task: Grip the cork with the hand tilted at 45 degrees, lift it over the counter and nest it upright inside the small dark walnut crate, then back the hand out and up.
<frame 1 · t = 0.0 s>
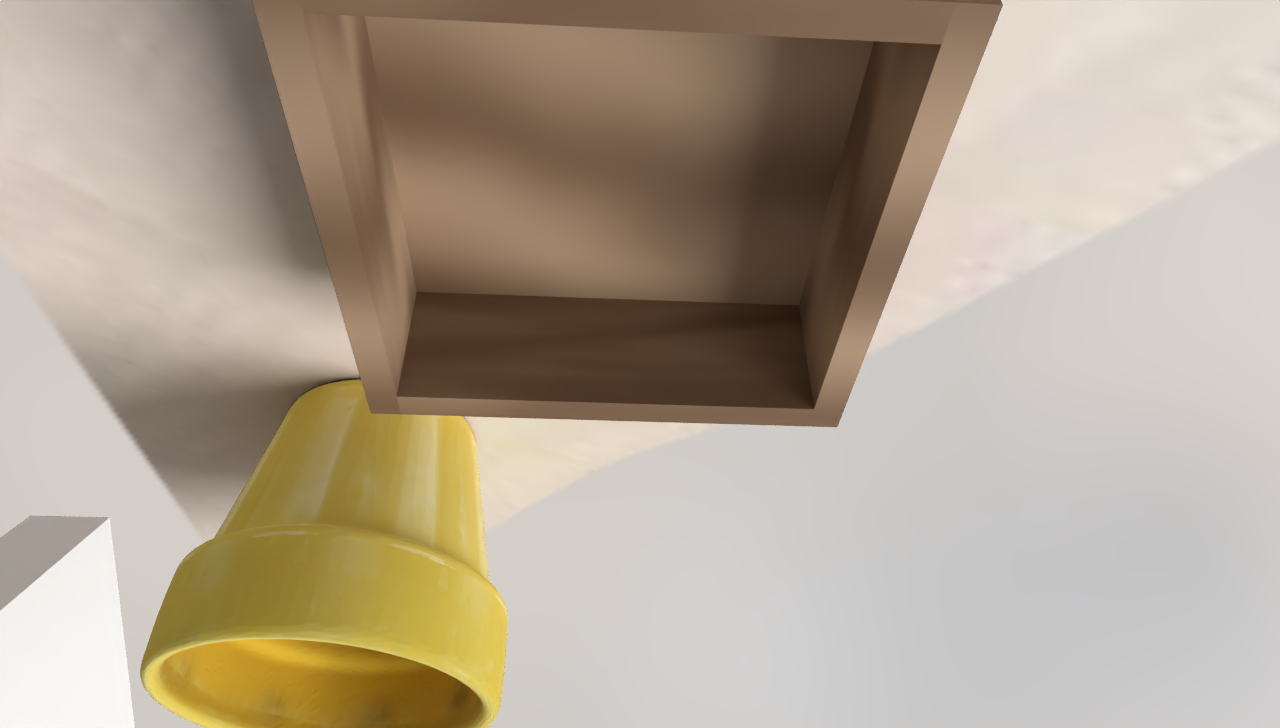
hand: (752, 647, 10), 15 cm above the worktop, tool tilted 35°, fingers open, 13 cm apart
plant pot: (380, 427, 34), on the worktop
walnut crate: (617, 125, 23), on the worktop
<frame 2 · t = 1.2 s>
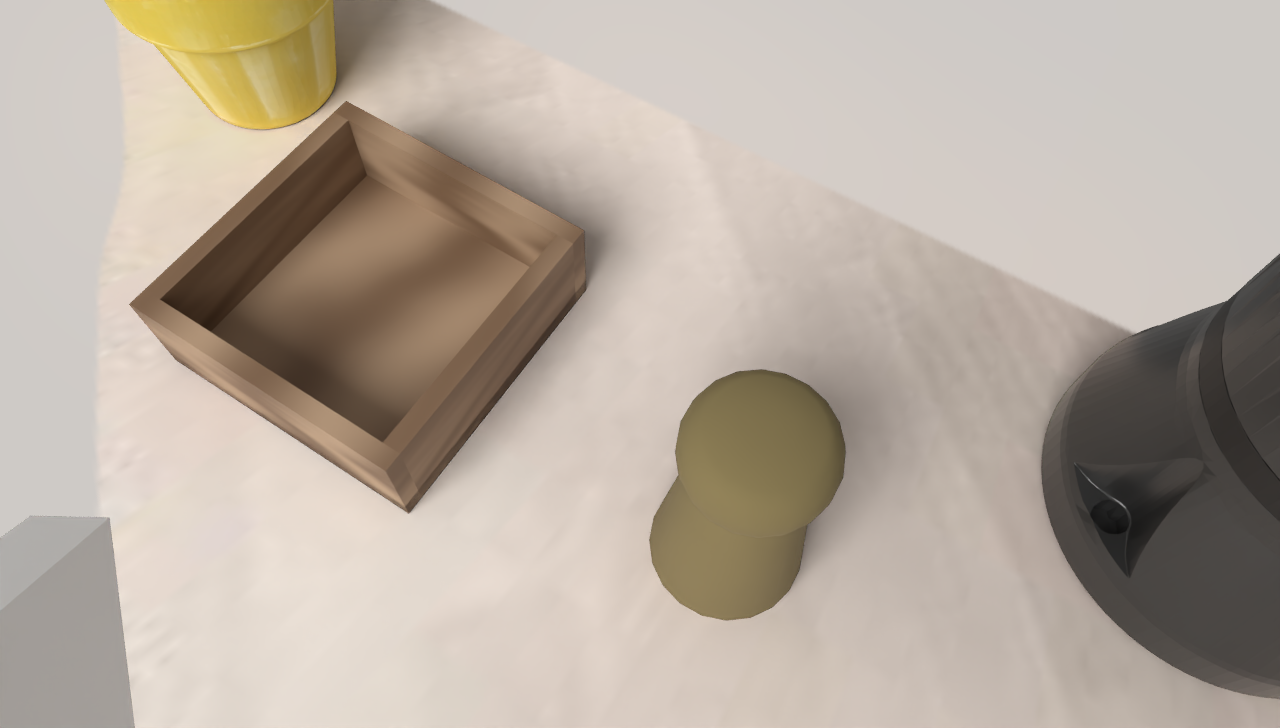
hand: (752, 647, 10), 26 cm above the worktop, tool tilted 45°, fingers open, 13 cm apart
plant pot: (273, 83, 48), on the worktop
cork: (725, 544, 37), on the worktop
walnut crate: (386, 323, 41), on the worktop
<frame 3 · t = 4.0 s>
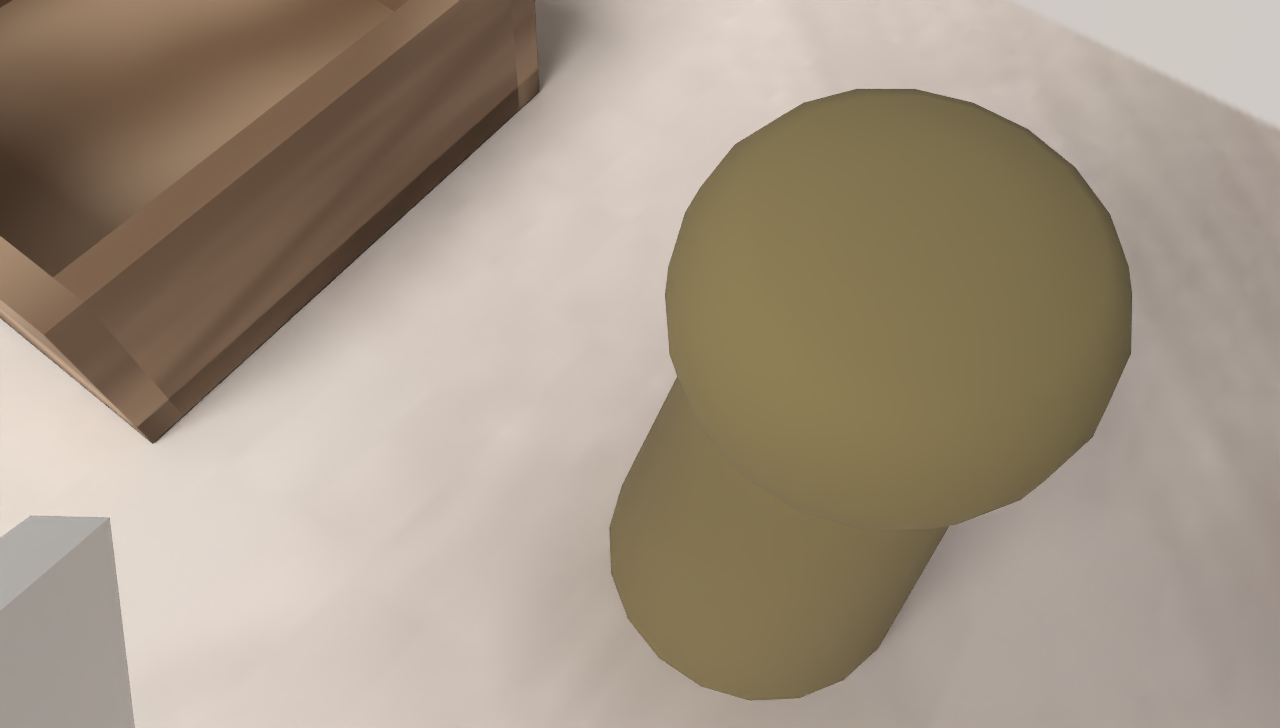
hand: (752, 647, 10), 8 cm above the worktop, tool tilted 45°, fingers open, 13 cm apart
cork: (755, 548, 19), on the worktop
walnut crate: (182, 117, 24), on the worktop
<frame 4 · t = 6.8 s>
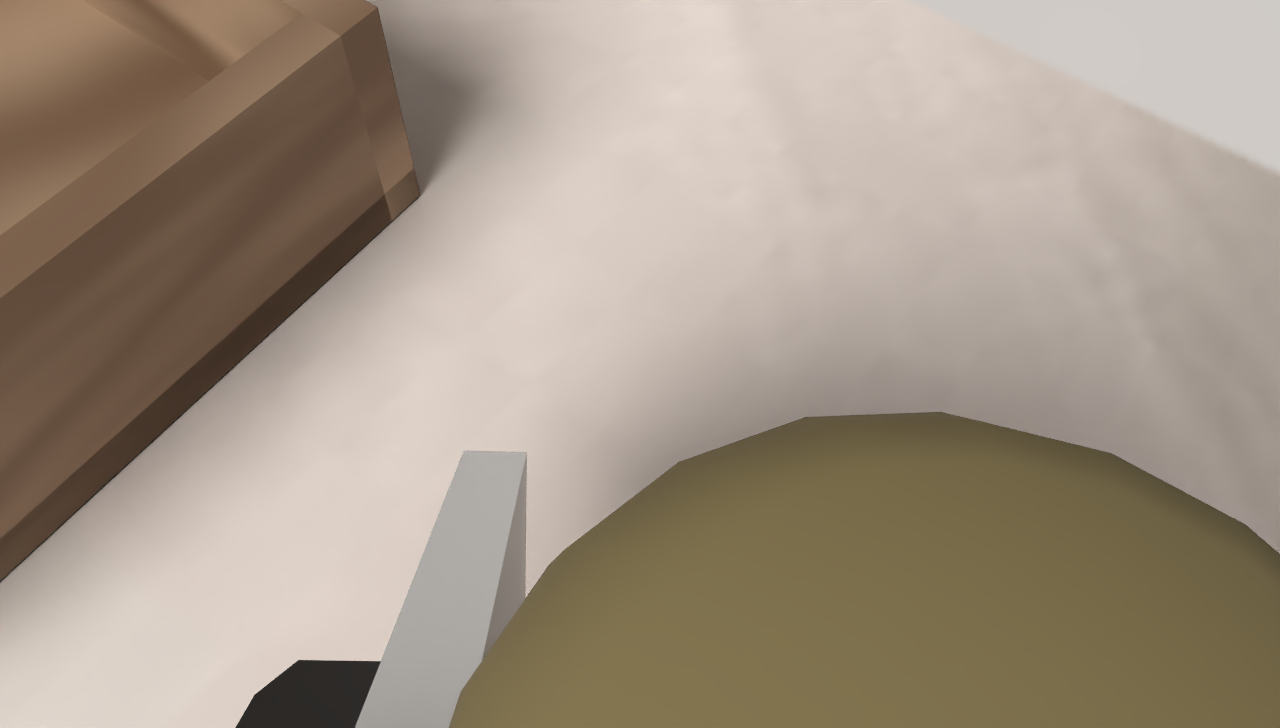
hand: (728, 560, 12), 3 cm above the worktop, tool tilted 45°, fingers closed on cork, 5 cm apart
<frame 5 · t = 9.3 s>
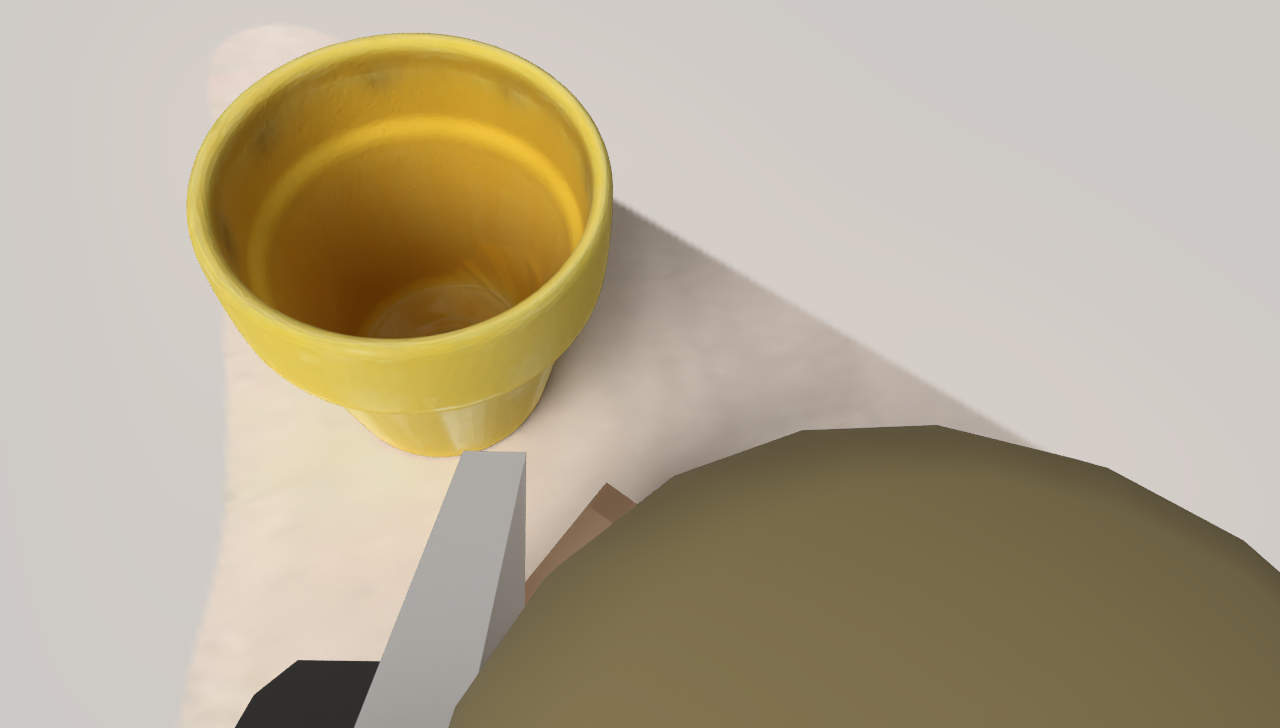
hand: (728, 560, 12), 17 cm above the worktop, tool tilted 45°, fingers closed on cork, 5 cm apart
plant pot: (452, 368, 32), on the worktop
when the fingers open (6 cm above the worktop, at t = 12.1 s): cork drops 1 cm, resting on walnut crate.
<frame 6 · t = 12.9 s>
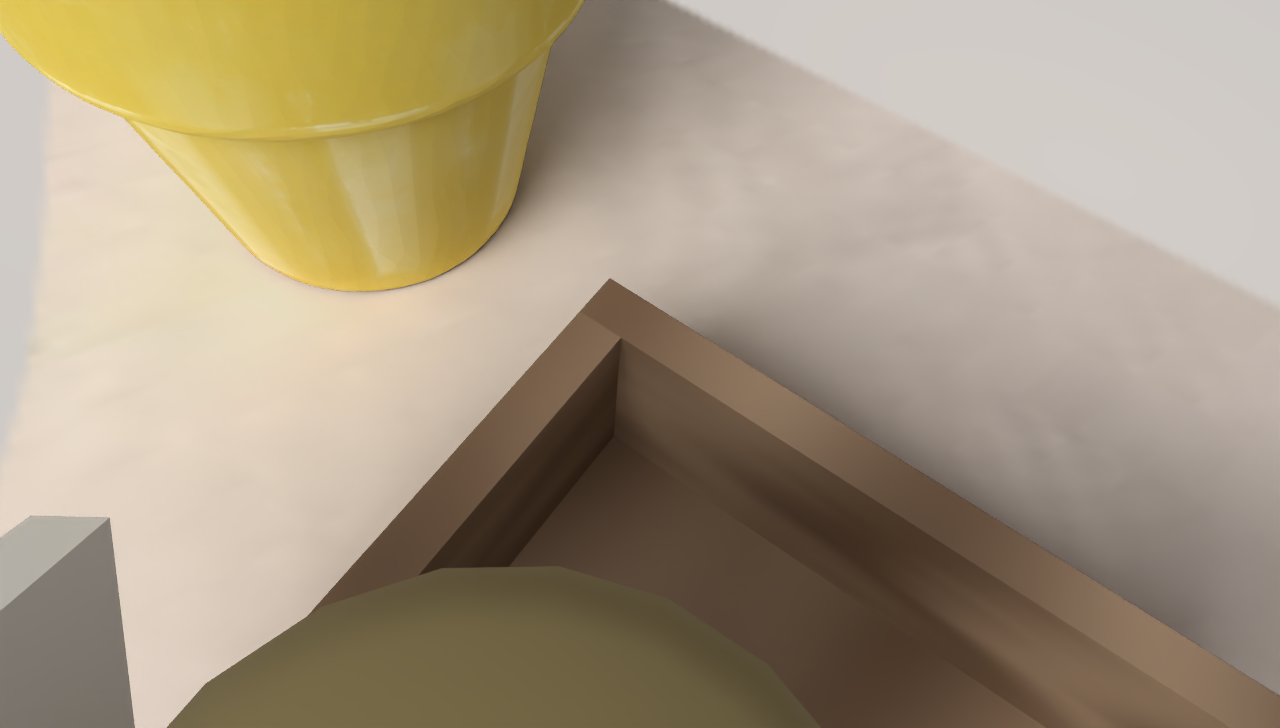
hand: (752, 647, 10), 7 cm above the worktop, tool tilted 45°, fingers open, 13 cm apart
plant pot: (380, 178, 22), on the worktop
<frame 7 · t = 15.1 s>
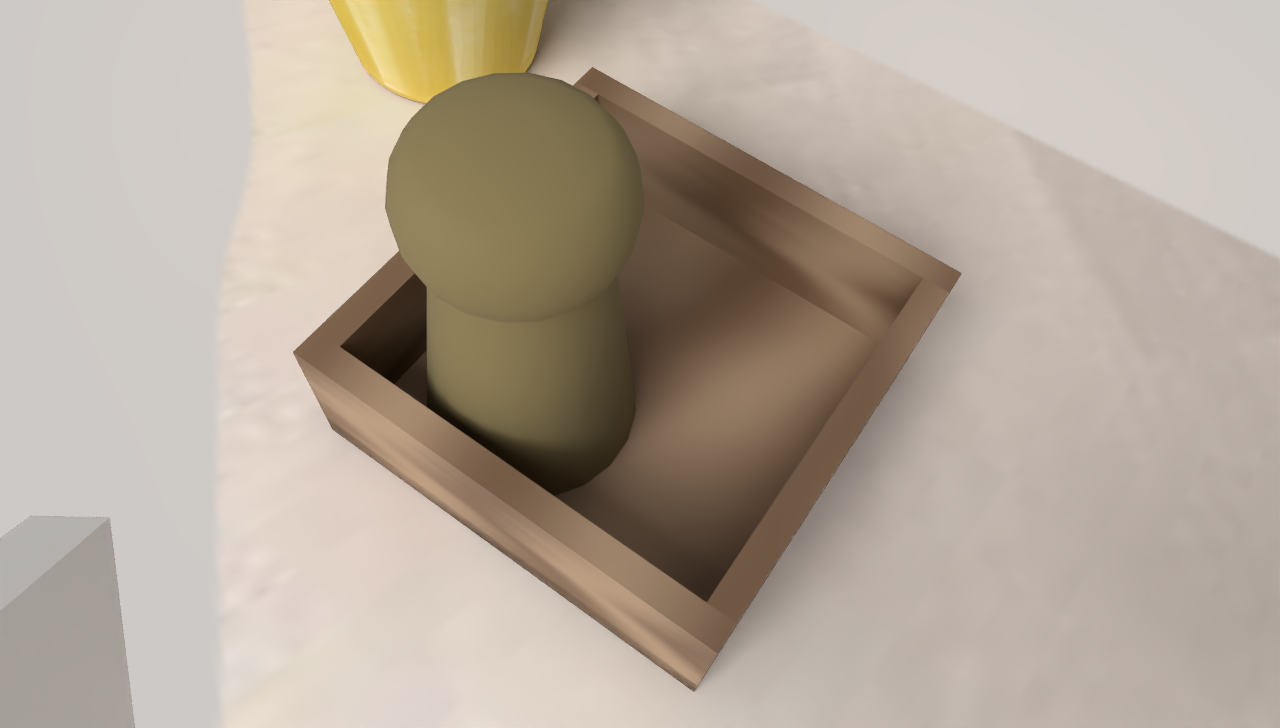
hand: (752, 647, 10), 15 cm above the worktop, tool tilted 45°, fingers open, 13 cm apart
plant pot: (451, 45, 36), on the worktop
cork: (532, 403, 28), point 1 cm above the worktop, touching walnut crate
walnut crate: (634, 390, 29), on the worktop
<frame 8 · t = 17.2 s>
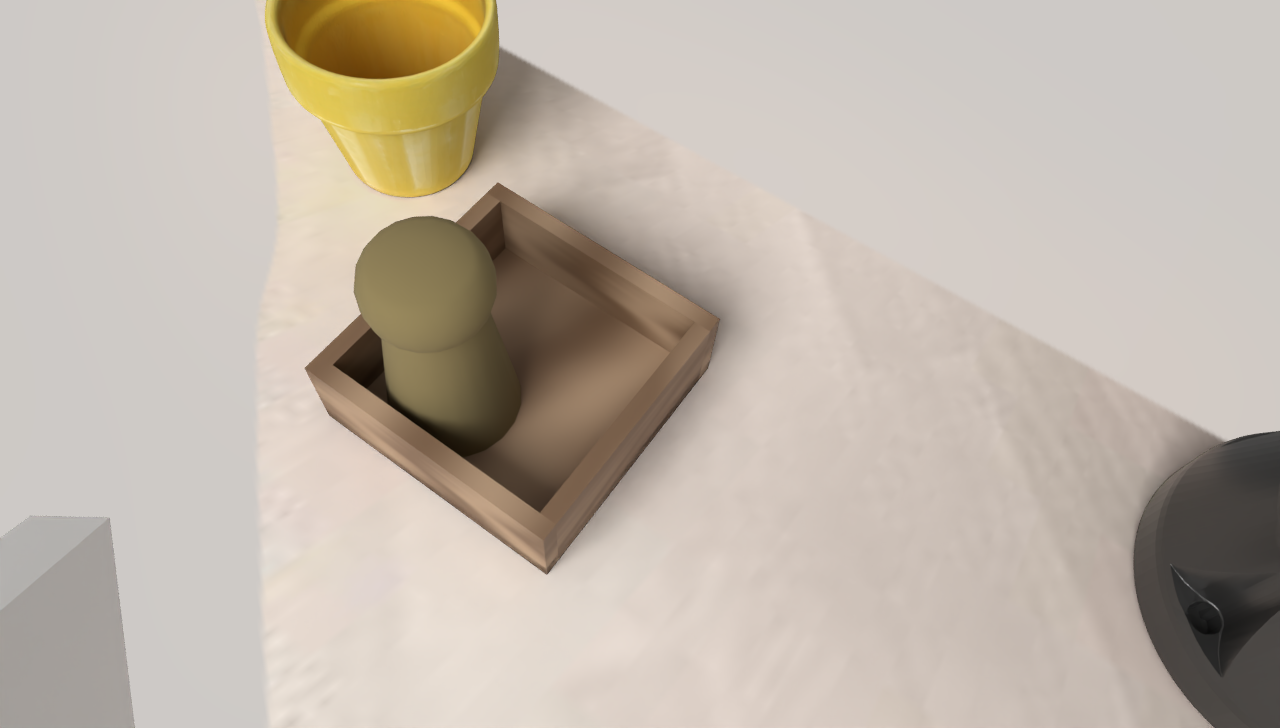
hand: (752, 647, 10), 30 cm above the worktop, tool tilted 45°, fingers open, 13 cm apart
plant pot: (414, 152, 51), on the worktop
cork: (455, 399, 43), point 1 cm above the worktop, touching walnut crate
walnut crate: (523, 391, 44), on the worktop
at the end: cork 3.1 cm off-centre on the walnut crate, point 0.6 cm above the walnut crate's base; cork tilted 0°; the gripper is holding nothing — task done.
